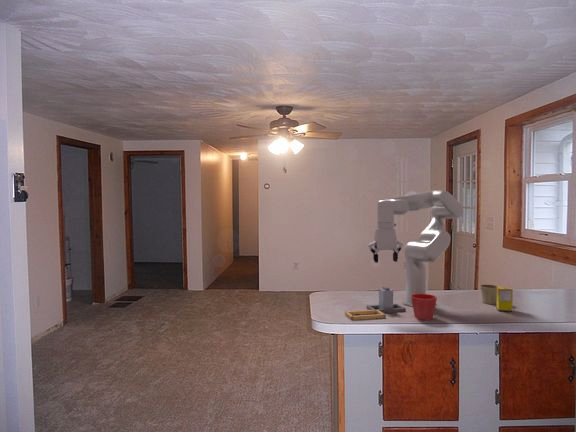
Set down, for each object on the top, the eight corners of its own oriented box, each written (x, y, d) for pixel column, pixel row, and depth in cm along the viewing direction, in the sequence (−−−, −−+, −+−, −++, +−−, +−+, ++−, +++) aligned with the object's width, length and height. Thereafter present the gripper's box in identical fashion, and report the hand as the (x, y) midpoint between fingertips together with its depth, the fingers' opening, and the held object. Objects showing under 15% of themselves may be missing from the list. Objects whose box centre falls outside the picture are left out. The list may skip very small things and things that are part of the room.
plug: (388, 308, 193) (388, 286, 193) (393, 311, 188) (393, 288, 188) (378, 308, 192) (378, 286, 192) (383, 311, 187) (383, 288, 187)
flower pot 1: (407, 314, 183) (407, 293, 182) (430, 314, 183) (430, 293, 183) (416, 321, 172) (416, 299, 172) (440, 320, 173) (441, 298, 173)
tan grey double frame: (397, 306, 196) (397, 303, 196) (414, 316, 180) (414, 312, 180) (339, 310, 190) (339, 307, 190) (351, 320, 174) (351, 316, 174)
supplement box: (509, 309, 191) (510, 286, 191) (512, 312, 186) (512, 289, 185) (496, 308, 193) (496, 286, 193) (498, 311, 188) (498, 288, 187)
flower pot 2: (479, 304, 201) (480, 287, 201) (478, 300, 210) (478, 283, 210) (500, 306, 198) (501, 288, 197) (498, 301, 206) (498, 285, 206)
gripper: (398, 225, 194) (398, 260, 195) (365, 226, 191) (365, 261, 192) (406, 226, 187) (406, 262, 188) (371, 227, 184) (371, 263, 184)
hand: (385, 261), depth 190 cm, fingers open, 9 cm apart
